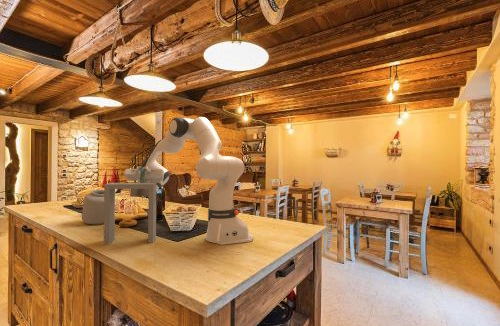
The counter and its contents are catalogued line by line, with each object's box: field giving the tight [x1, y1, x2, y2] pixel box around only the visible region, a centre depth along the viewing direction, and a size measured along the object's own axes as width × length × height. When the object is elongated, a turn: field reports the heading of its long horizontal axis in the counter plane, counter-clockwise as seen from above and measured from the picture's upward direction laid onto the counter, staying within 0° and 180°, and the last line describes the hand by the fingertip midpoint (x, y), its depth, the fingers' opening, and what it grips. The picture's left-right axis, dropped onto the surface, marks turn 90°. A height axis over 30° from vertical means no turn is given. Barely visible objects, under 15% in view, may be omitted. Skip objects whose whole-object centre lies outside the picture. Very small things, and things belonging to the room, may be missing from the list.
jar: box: [81, 179, 104, 226], centre depth 143 cm, size 19×15×25 cm
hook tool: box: [129, 166, 149, 197], centre depth 131 cm, size 10×16×2 cm
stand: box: [103, 182, 157, 246], centre depth 112 cm, size 20×7×26 cm, turn 100°
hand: (142, 167), depth 131 cm, fingers closed on hook tool, 2 cm apart
